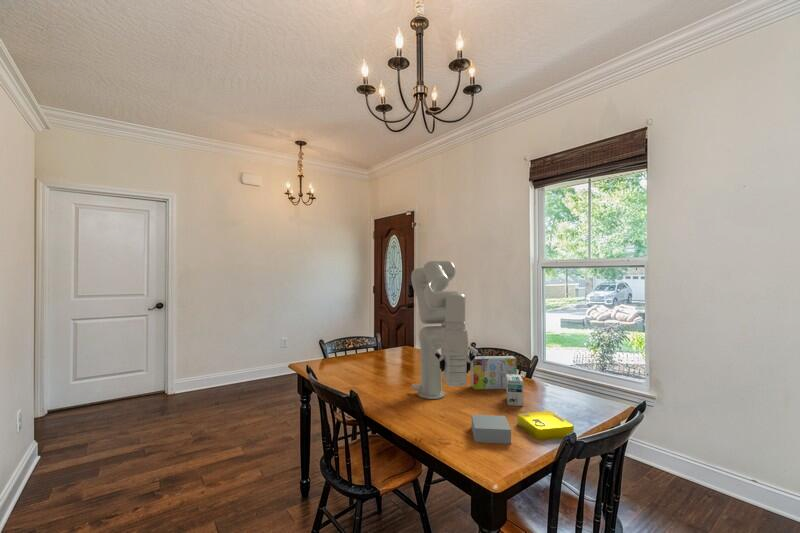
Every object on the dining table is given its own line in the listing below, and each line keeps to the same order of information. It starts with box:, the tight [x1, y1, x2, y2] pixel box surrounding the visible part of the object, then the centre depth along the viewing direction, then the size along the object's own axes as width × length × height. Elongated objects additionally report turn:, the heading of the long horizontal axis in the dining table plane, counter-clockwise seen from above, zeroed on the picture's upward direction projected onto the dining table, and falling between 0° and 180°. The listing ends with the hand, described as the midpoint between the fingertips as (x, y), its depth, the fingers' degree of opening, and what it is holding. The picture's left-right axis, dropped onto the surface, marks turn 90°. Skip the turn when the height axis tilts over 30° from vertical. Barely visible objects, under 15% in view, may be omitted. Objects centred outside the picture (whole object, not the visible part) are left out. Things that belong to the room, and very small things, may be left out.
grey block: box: [471, 414, 512, 445], centre depth 135 cm, size 12×12×5 cm
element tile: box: [516, 410, 575, 442], centre depth 139 cm, size 15×15×5 cm
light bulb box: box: [505, 374, 525, 407], centre depth 169 cm, size 11×7×11 cm, turn 168°
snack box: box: [470, 355, 518, 390], centre depth 188 cm, size 21×6×15 cm, turn 92°
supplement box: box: [443, 352, 467, 387], centre depth 146 cm, size 7×7×13 cm
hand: (454, 371), depth 146 cm, fingers closed on supplement box, 8 cm apart
